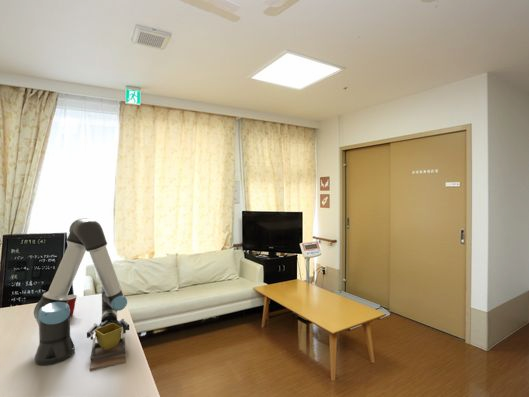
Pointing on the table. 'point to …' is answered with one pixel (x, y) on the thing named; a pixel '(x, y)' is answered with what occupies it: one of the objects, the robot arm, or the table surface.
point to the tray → (107, 355)
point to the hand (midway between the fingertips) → (108, 338)
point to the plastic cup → (71, 303)
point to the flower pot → (108, 336)
